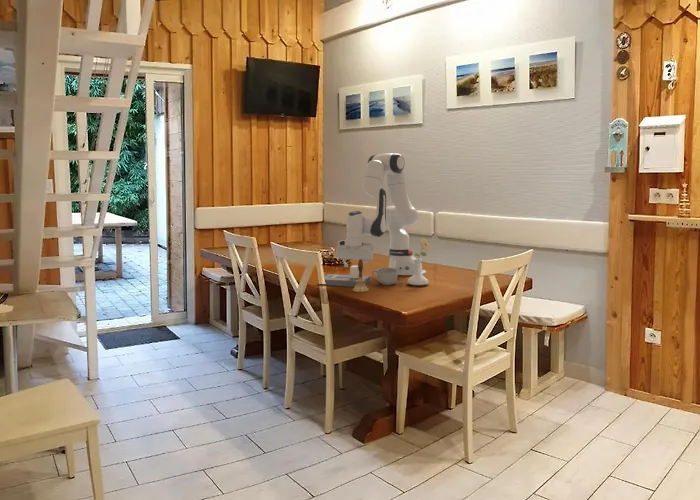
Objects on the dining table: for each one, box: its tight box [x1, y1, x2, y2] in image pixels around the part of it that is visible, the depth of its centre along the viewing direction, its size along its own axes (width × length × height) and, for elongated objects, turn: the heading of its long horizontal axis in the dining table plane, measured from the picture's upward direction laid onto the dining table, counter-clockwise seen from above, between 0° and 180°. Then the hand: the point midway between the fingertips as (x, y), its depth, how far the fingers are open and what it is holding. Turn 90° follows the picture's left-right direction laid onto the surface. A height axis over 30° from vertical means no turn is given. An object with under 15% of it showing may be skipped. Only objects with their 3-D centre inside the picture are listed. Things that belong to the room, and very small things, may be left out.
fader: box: [349, 265, 359, 278], centre depth 328 cm, size 4×5×6 cm
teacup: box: [371, 267, 398, 286], centre depth 328 cm, size 14×11×8 cm
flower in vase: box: [406, 237, 432, 287], centre depth 323 cm, size 13×11×25 cm
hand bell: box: [352, 259, 370, 293], centre depth 311 cm, size 8×8×16 cm
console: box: [323, 273, 371, 288], centre depth 330 cm, size 24×16×3 cm, turn 71°
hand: (354, 267), depth 327 cm, fingers open, 8 cm apart
